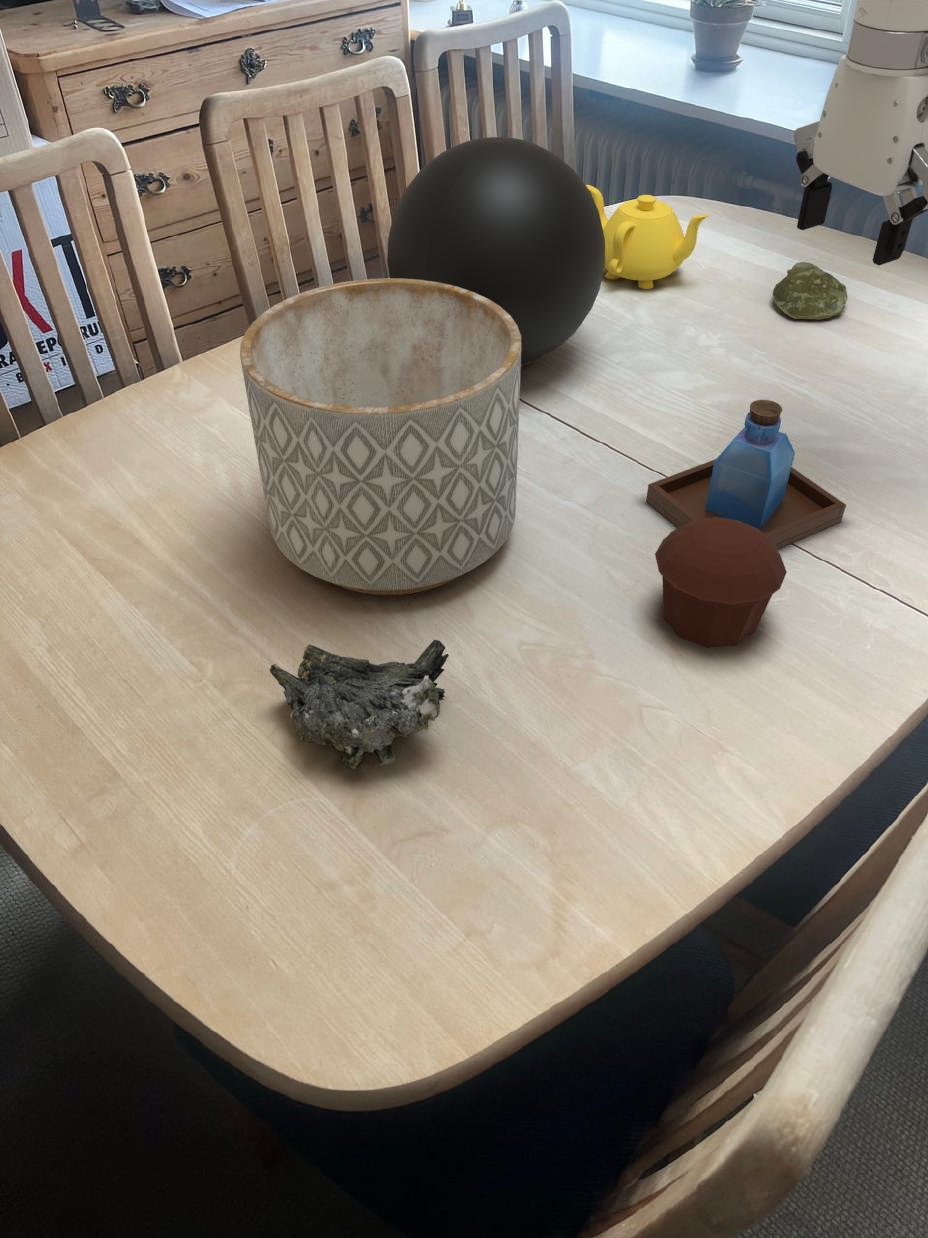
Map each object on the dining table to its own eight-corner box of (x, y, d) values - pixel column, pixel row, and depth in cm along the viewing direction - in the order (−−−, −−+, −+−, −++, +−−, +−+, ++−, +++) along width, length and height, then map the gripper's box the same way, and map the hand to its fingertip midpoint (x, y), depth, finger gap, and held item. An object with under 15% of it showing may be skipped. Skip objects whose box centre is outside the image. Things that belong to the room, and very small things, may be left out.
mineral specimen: (450, 613, 90) (412, 583, 80) (478, 754, 86) (443, 739, 77) (297, 656, 93) (244, 632, 84) (318, 793, 89) (265, 784, 80)
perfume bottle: (782, 501, 109) (807, 403, 101) (759, 530, 106) (783, 431, 97) (729, 482, 112) (749, 385, 104) (705, 509, 108) (723, 412, 100)
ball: (603, 317, 143) (622, 111, 124) (586, 417, 123) (606, 191, 105) (416, 303, 146) (408, 101, 128) (372, 399, 127) (354, 177, 108)
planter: (484, 451, 118) (485, 266, 103) (542, 592, 100) (555, 392, 85) (264, 479, 114) (232, 291, 99) (283, 631, 96) (248, 429, 81)
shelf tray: (753, 460, 116) (757, 443, 115) (841, 522, 108) (846, 504, 106) (645, 501, 111) (648, 484, 109) (729, 570, 102) (732, 552, 100)
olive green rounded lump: (794, 315, 139) (791, 243, 139) (763, 331, 146) (760, 263, 146) (856, 320, 142) (853, 249, 142) (823, 336, 149) (820, 269, 149)
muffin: (772, 587, 100) (794, 505, 93) (771, 665, 92) (795, 582, 85) (651, 570, 102) (664, 489, 95) (640, 645, 94) (653, 562, 87)
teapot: (552, 276, 152) (556, 199, 145) (603, 243, 161) (609, 169, 153) (671, 312, 144) (682, 232, 136) (717, 275, 152) (731, 198, 145)
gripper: (1010, 61, 82) (946, 265, 94) (849, 18, 93) (809, 206, 105) (947, 77, 79) (889, 286, 91) (788, 31, 90) (755, 222, 102)
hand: (847, 243), depth 98 cm, fingers open, 9 cm apart
